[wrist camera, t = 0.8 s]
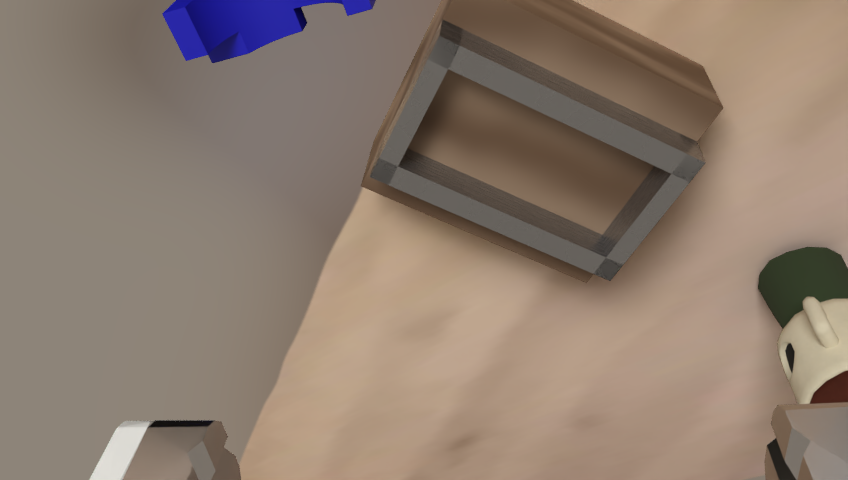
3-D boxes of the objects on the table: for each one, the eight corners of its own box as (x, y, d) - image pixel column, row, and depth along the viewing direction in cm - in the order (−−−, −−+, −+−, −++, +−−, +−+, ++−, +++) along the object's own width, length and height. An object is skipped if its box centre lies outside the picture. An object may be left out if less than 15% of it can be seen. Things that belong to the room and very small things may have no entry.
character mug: (724, 244, 58) (771, 369, 48) (821, 201, 55) (893, 324, 45) (780, 336, 63) (834, 468, 52) (872, 301, 60) (948, 433, 50)
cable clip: (226, 45, 52) (197, 83, 48) (195, -20, 50) (162, 13, 45) (393, -2, 50) (380, 33, 45) (369, -73, 47) (353, -44, 42)
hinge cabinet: (467, -53, 47) (459, -6, 40) (702, 66, 50) (733, 128, 43) (373, 141, 56) (354, 207, 49) (580, 232, 59) (589, 306, 52)
